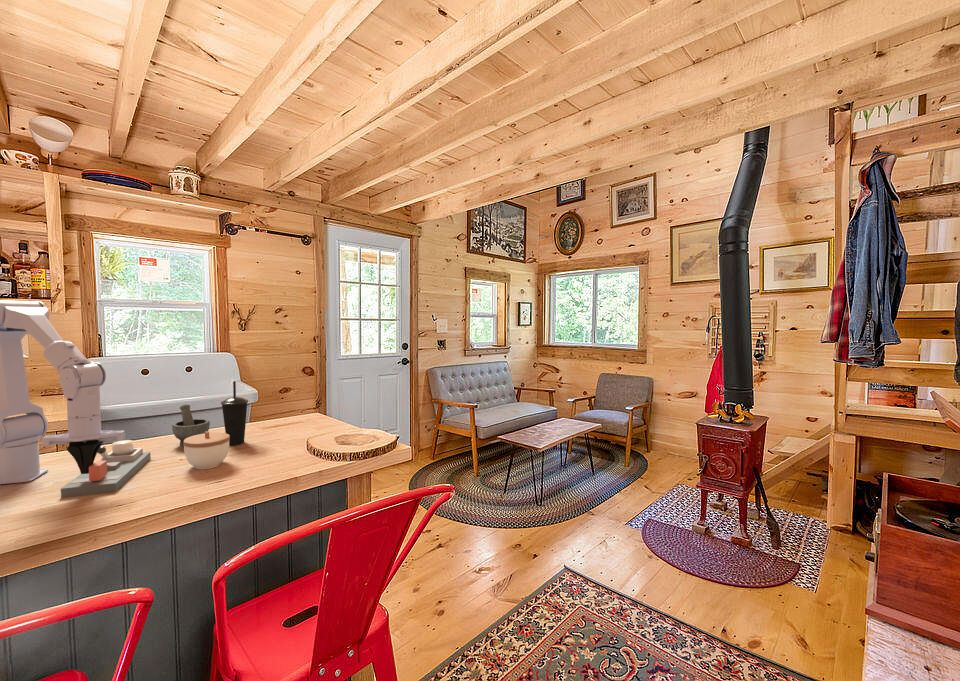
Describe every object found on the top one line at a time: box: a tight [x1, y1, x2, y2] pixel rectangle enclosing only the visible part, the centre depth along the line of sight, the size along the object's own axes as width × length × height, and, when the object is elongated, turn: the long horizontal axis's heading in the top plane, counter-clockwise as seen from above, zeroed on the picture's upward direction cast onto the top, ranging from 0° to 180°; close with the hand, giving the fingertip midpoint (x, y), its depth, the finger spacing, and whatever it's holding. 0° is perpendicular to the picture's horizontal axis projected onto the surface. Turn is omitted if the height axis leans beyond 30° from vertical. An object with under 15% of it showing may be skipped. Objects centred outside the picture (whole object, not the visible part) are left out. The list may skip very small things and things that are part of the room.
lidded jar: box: [183, 430, 230, 470], centre depth 119 cm, size 11×11×9 cm
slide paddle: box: [89, 460, 107, 481], centre depth 103 cm, size 2×4×3 cm, turn 22°
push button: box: [111, 439, 134, 454], centre depth 118 cm, size 4×4×2 cm
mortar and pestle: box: [171, 404, 211, 448], centre depth 138 cm, size 11×9×12 cm
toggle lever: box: [97, 446, 111, 461], centre depth 110 cm, size 2×2×4 cm
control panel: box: [60, 447, 152, 498], centre depth 111 cm, size 10×24×4 cm, turn 22°
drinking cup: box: [220, 380, 249, 446], centre depth 139 cm, size 8×8×20 cm
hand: (86, 472), depth 102 cm, fingers closed
